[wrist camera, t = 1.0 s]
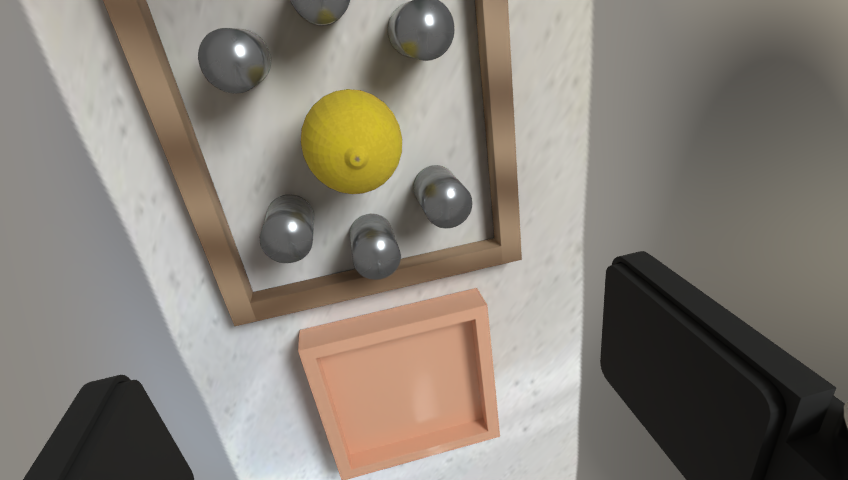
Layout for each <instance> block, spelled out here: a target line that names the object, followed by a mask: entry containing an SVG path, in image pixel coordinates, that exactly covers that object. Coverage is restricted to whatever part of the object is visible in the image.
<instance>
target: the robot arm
mask: <svg viewBox="0 0 848 480" xmlns="http://www.w3.org/2000/svg"><path fill="white" fill-rule="evenodd" d="M601 346H602V347H601V360H600V362H601V369H602V372H603V374H604V376H605V378H606V379H607V381H608V382H609V383H610V385H611V386H612V387H613V388H614V390H615V391H616V392H617V393H618V395H619V396H620V397H621V398H622V400H623V401H624V402H625V403H626V405H627V406H628V407H629V408H630V410H631V411H632V412H633V413H634V415H635V416H636V417H637V418H638V420H639V421H640V422H641V423H642V425H643V426H644V427H645V428H646V430H647V431H648V432H649V433H650V435H651V436H652V437H653V438H654V440H655V441H656V442H657V443H658V445H659V446H660V447H661V449H662V450H663V451H664V452H665V454H666V455H667V456H668V457H669V459H670V460H671V461H672V462H673V463H674V465H675V466H676V467H677V469H678V470H679V471H680V472H681V473H682V475H683V476H684V477H685V479H686V480H848V401H847V402H846V404H844V403H843V402H842V401H840V400H839V399H838V398H836V397H835V396H834V392H835V390H836V387H835V386H833V385H832V384H831V383H829V382H828V381H826V380H825V379H824V378H822V377H821V376H819V375H818V374H817V373H815V372H813V371H812V370H811V369H809V368H808V367H807V366H805V365H804V364H803V363H801V362H800V361H798V360H797V359H796V358H794V357H792V356H791V355H790V354H788V353H787V352H786V351H784V350H783V349H781V348H780V347H779V346H777V345H776V344H774V343H773V342H772V341H770V340H769V339H767V338H766V337H765V336H763V335H762V334H760V333H759V332H758V331H756V330H755V329H753V328H752V327H751V326H749V325H748V324H746V323H745V322H744V321H742V320H741V319H739V318H738V317H737V316H735V315H734V314H732V313H731V312H730V311H728V310H727V309H725V308H724V307H723V306H721V305H720V304H718V303H717V302H715V301H714V300H713V299H711V298H710V297H709V296H707V295H706V294H704V293H703V292H702V291H700V290H699V289H697V288H696V287H695V286H693V285H692V284H690V283H689V282H687V281H686V280H685V279H683V278H682V277H681V276H679V275H678V274H676V273H675V272H673V271H672V270H671V269H669V268H668V267H667V266H665V265H664V264H662V263H661V262H660V261H658V260H657V259H655V258H654V257H653V256H651V255H649V254H648V253H646V252H644V251H641V252H636V253H632V254H627V255H623V256H619V257H616V258H615V259H614V260H613V262H612V265H611V266H609V267H608V268H607V270H606V279H605V295H604V312H603V329H602V344H601ZM23 480H194V476H193V473H192V471H191V469H190V467H189V465H188V464H187V462H186V460H185V459H184V457H183V455H182V453H181V452H180V450H179V448H178V446H177V445H176V443H175V442H174V440H173V438H172V436H171V434H170V433H169V431H168V429H167V427H166V426H165V424H164V422H163V421H162V419H161V417H160V416H159V414H158V412H157V410H156V408H155V407H154V405H153V403H152V402H151V400H150V398H149V396H148V395H147V393H146V391H145V390H144V388H143V386H142V384H141V383H140V382H139V381H137V380H130V379H129V378H128V377H127V376H125V375H118V376H113V377H109V378H105V379H101V380H97V381H92V382H89V383H87V384H85V385H84V386H83V387H82V388H81V390H80V391H79V393H78V394H77V396H76V397H75V399H74V401H73V402H72V404H71V405H70V407H69V408H68V410H67V412H66V413H65V415H64V416H63V418H62V419H61V421H60V422H59V424H58V426H57V427H56V429H55V431H54V432H53V434H52V435H51V437H50V438H49V440H48V441H47V443H46V444H45V446H44V448H43V449H42V451H41V452H40V454H39V456H38V457H37V459H36V460H35V462H34V463H33V465H32V467H31V468H30V470H29V471H28V473H27V474H26V476H25V477H24V479H23Z"/></svg>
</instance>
